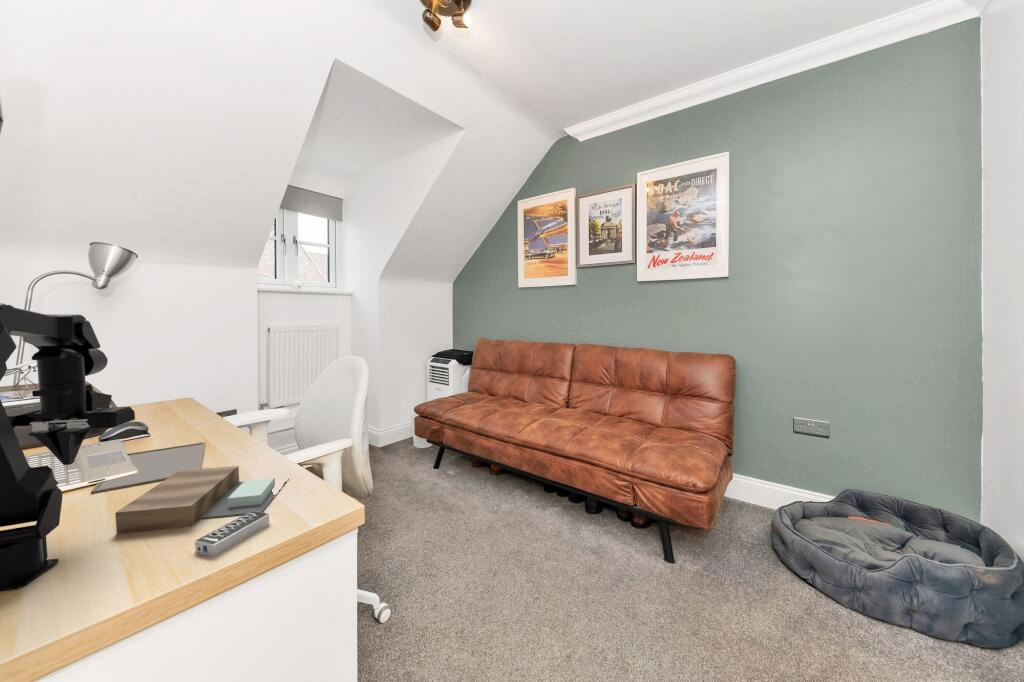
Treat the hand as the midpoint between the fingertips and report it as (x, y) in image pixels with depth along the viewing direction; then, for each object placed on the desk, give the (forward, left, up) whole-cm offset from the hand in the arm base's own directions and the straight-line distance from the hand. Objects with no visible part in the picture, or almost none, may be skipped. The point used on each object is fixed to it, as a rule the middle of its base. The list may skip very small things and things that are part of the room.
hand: (68, 464), depth 74 cm
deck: (+5, -16, -12) cm, 21 cm away
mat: (+6, -28, -12) cm, 31 cm away
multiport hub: (-11, -31, -13) cm, 36 cm away
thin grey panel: (+32, +4, -13) cm, 35 cm away
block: (+5, -28, -10) cm, 30 cm away
